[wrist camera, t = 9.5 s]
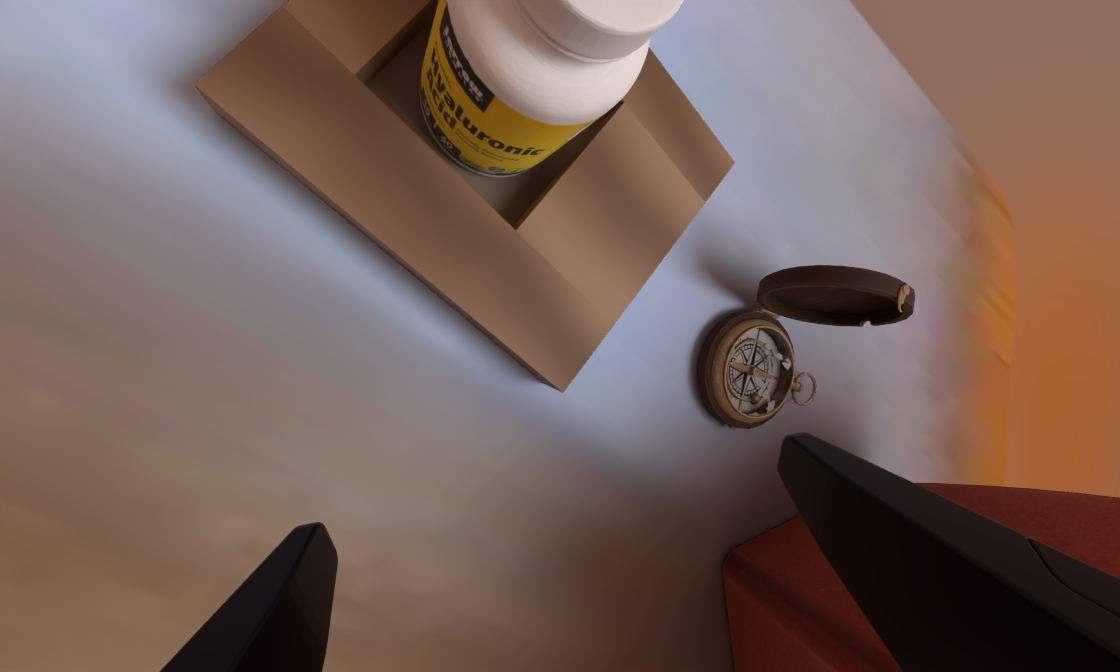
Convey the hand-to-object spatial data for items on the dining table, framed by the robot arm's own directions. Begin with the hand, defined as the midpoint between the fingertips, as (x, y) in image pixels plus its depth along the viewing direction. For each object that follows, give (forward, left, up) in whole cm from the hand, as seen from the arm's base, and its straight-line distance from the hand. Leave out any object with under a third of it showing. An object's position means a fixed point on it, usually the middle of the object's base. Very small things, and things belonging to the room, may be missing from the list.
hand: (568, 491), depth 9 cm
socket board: (+9, +5, -11) cm, 15 cm away
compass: (+11, -12, -11) cm, 19 cm away
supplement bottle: (+9, +6, -10) cm, 15 cm away
